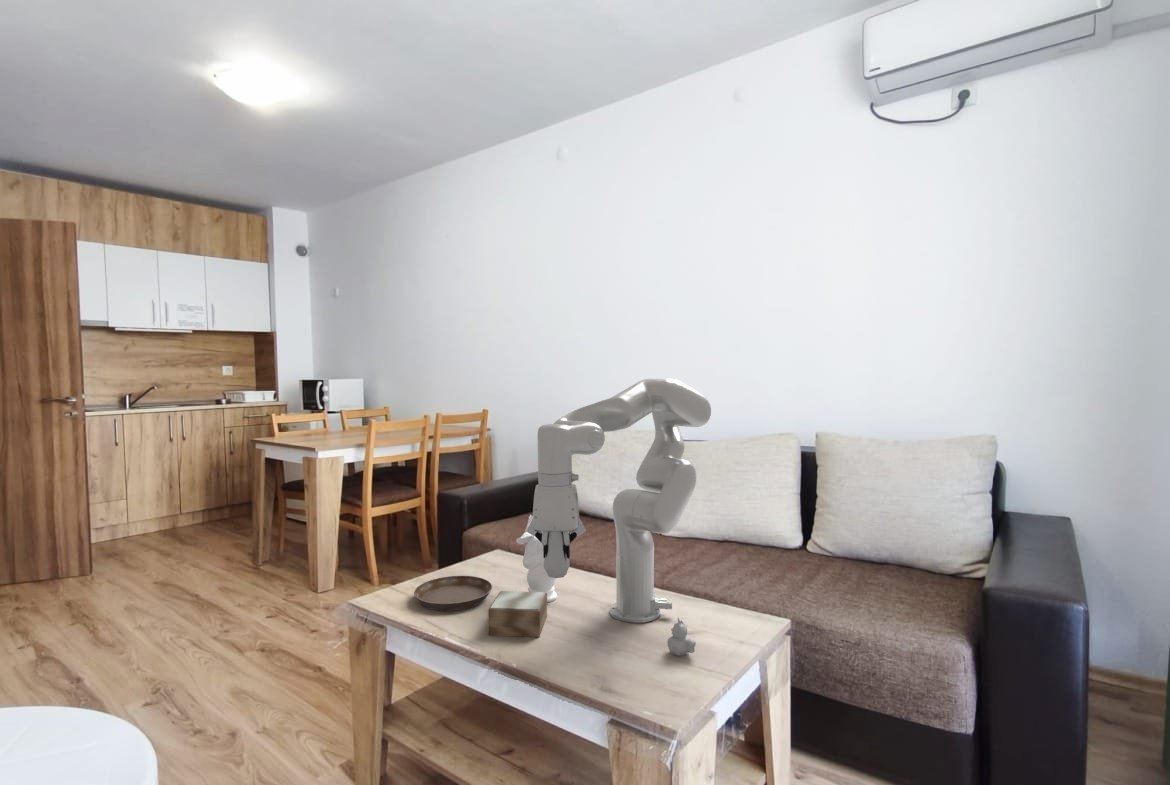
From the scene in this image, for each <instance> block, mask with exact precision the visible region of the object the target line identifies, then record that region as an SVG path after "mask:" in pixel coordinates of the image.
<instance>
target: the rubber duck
mask: <svg viewBox="0 0 1170 785" xmlns="http://www.w3.org/2000/svg"><path fill="white" fill-rule="evenodd" d="M670 631H671V636H669V637H668V639H667V648H668V651H669V652H670V653H671V654H672V655H674V656H679V657H681V656H682V657H683V656H684V655H687V654H688V653H689V654H693V653H695V651H696V650H695V647H696V644H697V641H696V640H694V639H692V638H691V637H690V636H688V628H687V626H686V625H685V623H684V621H683V620H680V618H679V617H677V622H676V623H674V625H673V627H671V628H670Z"/></svg>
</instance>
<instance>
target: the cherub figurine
mask: <svg viewBox="0 0 1170 785" xmlns="http://www.w3.org/2000/svg"><path fill="white" fill-rule="evenodd" d="M532 519H533V514H532V515H531V514H529V516H528V519H527V525H526V527H525V531H524V533H523V534H521V536H520V537H517V539H516V540H515V542H516V544H517V545H521V546H523V544H525V547H524V554H523V557H522V565H523V567H524V568H526V570H528V572H527V574H526V581H527V584H528V586H529V587H528V588H527V590H528V591H527V592H545V593H547V603H551V602H553V601H556V599H557V598H558V594H557V592H556V591H555V583H556V579H557V578H551V577H548V574H547V572H546V570H545V568H544V559H545V558H544V556H543V545H542V543H541V542H540V541H539V540H538V539H537V538H536V537H535V536H533V535H531V534H529V533H528V532H527V529H528V527H529V525H530V523H531V521H532ZM541 532H542V531H541Z"/></svg>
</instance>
